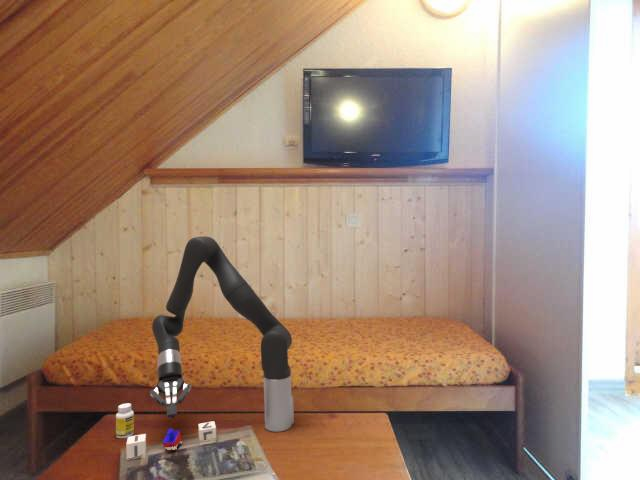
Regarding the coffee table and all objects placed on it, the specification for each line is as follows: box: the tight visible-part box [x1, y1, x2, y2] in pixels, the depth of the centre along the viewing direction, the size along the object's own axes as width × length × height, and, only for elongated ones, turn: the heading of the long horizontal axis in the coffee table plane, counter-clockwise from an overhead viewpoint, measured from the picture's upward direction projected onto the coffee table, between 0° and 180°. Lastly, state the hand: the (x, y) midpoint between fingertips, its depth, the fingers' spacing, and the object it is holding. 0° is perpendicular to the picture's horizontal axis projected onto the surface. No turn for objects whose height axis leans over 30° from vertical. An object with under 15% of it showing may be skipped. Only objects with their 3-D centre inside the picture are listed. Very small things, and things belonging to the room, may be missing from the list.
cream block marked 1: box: [125, 433, 147, 460], centre depth 120 cm, size 5×5×5 cm
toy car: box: [162, 428, 183, 448], centre depth 123 cm, size 4×4×8 cm
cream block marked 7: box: [197, 420, 217, 440], centre depth 128 cm, size 5×5×5 cm
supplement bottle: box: [115, 402, 135, 439], centre depth 133 cm, size 5×5×10 cm
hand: (172, 417), depth 124 cm, fingers closed
